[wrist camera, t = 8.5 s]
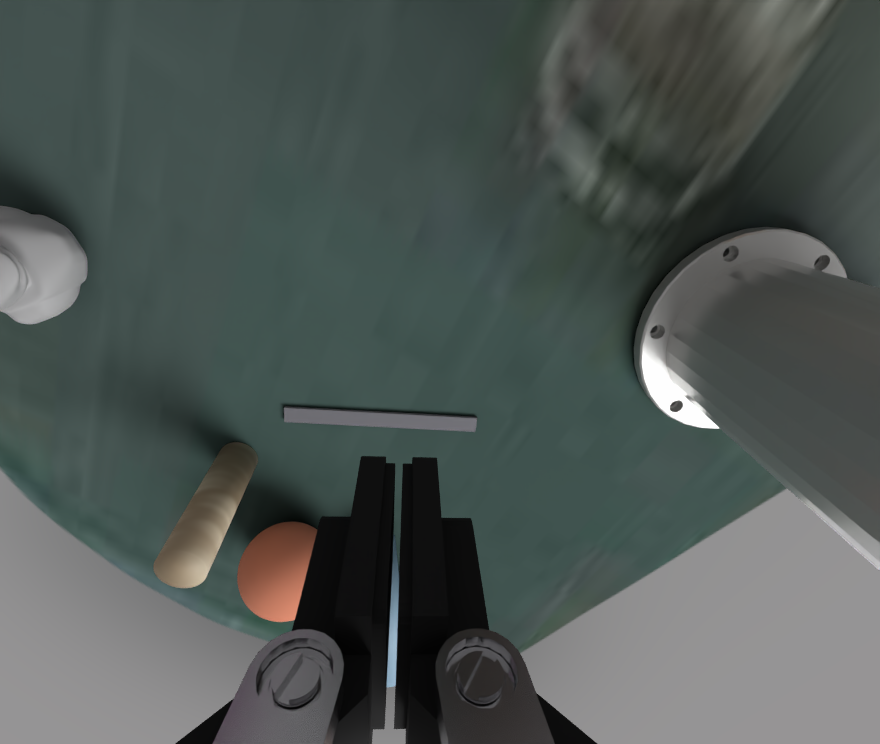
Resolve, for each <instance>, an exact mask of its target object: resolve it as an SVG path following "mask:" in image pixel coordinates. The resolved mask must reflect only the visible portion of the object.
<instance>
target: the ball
mask: <svg viewBox="0 0 880 744" xmlns="http://www.w3.org/2000/svg"><path fill="white" fill-rule="evenodd" d="M316 534H317V529H315V528H314V527H312V526H310V525H308V524H305V523H301V522H282V523H279V524H275V525H273V526H271V527H269V528H267V529H265V530H263V531H262V532H261V533H259V534H258V535H257V536H256V537H255V538H254V539H253V540H252V541H251V542H250V544H249V545H248V546H247V548H246V549H245V551H244V553H243V555H242V557H241V560H240V563H239V567H238V577H237V578H238V587H239V591H240V594H241V597H242V599H243V601H244V603H245V604H246V605H247V607H248V608H249V609H250V610H251V611H252V612H254V613H255V614H256V615H258V616H259V617H261V618H264V619H266V620H270V621H275V622H285V621H291V620H295V617H296V613H297V609H298V605H299V601H300V597H301V593H302V589H303V585H304V581H305V577H306V573H307V569H308V565H309V561H310V557H311V553H312V549H313V546H314V542H315V538H316Z"/></svg>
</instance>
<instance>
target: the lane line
mask: <svg viewBox="0 0 880 744" xmlns="http://www.w3.org/2000/svg"><path fill="white" fill-rule="evenodd" d="M284 422H295V423H314V424H334V425H353V426H373V427H392V428H412V429H431V430H451V431H470V432H475V430H476V424H477V417H471V416H453V415H434V414H416V413H398V412H380V411H362V410H343V409H325V408H307V407H289V406H285V407H284Z"/></svg>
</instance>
